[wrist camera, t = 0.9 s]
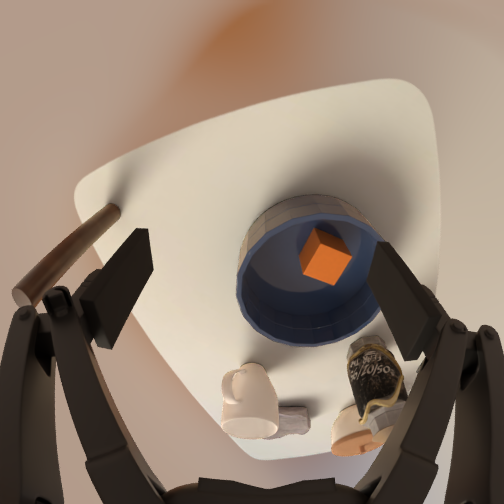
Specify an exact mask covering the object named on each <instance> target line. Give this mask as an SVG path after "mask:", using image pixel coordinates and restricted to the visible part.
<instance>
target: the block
mask: <svg viewBox="0 0 504 504" xmlns="http://www.w3.org/2000/svg"><path fill="white" fill-rule="evenodd" d="M351 258H352V255H351V253H350V251H349V250H348V248H347V246H346V244H345V242H344V241H343V240H342V239H340V238H337V237H335V236H333V235H331V234H328V233H326V232H324V231H321V230H319V229H317V228H314V229H313V230H312V232H311V234H310V236H309V238H308V240H307V242H306V243H305V245H304V247H303V249H302V251H301V253H300V254H299V259H300V263H301V268H302V272H303V274H304V275H307V276H309V277H312V278H315V279H318V280H320V281H323V282H326V283H329V284H331V285H335V283H336V282H337V280H338V279H339V277H340V276H341V274H342V272H343V271H344V269H345V268H346V266H347V264H348V263H349V261H350V260H351Z"/></svg>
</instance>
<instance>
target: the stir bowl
mask: <svg viewBox="0 0 504 504" xmlns="http://www.w3.org/2000/svg"><path fill="white" fill-rule="evenodd" d="M314 228H317V229H319V230H321V231H324V232H326V233H328V234H331V235H333V236H335V237H337V238H340V239H342V240H343V241H344V242H345V244H346V246H347V248H348V250H349V251H350V253H351V255H352V258H351V260H350V261H349V263H348V264H347V266H346V268H345V269H344V271H343V272H342V274H341V276H340V277H339V279H338V280H337V282H336V283H335V285H331V284H329V283H326V282H323V281H320V280H318V279H315V278H312V277H309V276H307V275H304V274H303V272H302V268H301V263H300V259H299V254H300V253H301V251H302V249H303V247H304V245H305V243H306V242H307V240H308V238H309V236H310V234H311V232H312V230H313V229H314ZM377 241H382V242H385V240H384V239H383V238H382V237H381V235H380V234H379V233H378V232H377V231H376V229H375V228H374V227H373V226H372V225H371V223H370V222H369V221H368V220H367V219H366V218H365V217H364V216H363V215H362V214H361V213H360V212H359V211H358V210H357V209H356V208H355V207H353V206H352V205H350V204H348V203H347V202H345V201H343V200H340V199H338V198H335V197H330V196H326V195H303V196H297V197H293V198H290V199H287V200H284V201H282V202H280V203H278V204H276V205H274V206H273V207H271V208H269V209H268V210H267V211H265V212H264V213H263V214H262V215H261V216H260V217H259V218H258V219H257V220H256V221H255V222H254V223H253V225H252V226H251V227H250V229H249V230H248V232H247V234H246V236H245V238H244V241H243V244H242V247H241V249H240V255H239V263H238V270H237V282H236V298H237V301H238V304H239V307H240V309H241V312H242V315H243V317H244V318H245V319H246V320H247V321H248V322H249V324H250V325H251V326H252V327H253V328H254V329H255V330H256V331H257V332H259V333H260V334H262V335H264V336H265V337H267V338H269V339H270V340H272V341H275V342H278V343H282V344H286V345H289V346H294V347H317V346H322V345H327V344H331V343H336V342H338V341H340V340H343V339H345V338H347V337H349V336H351V335H354V334H355V333H357V332H358V331H360V330H361V329H362V328H364V327H365V326H366V325H367V324H369V323H370V322H371V321H372V320H373V319H374V318H375V317H376V316H377V314H378V313H379V312H380V310H381V309H380V307H379V305H378V303H377V301H376V299H375V297H374V295H373V293H372V291H371V289H370V287H369V285H368V283H367V281H366V280H367V277H368V273H369V270H370V266H371V263H372V259H373V255H374V252H375V248H376V244H377Z"/></svg>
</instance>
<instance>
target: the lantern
mask: <svg viewBox="0 0 504 504" xmlns="http://www.w3.org/2000/svg"><path fill="white" fill-rule="evenodd" d="M347 360H348V364H347V372H348V377H349V381H350V384H351V388H352V391H353V395H354V398H355V402H356V405H357V409H358V413H359V415H360V417H361V418H362V419H361V418H360V419H359V424H360V425H361V424H362V425H363V426H364V427H367V428H368V429H371V432H372V435H373V438H372V441H373V442H382V443H385V442H386V440H387V438H388V436H389V435H390V433H391V431H392V429H393V427H394V425H395V423H396V421H397V419H398V417H399V415H400V413H401V411H402V409H403V407H404V405H405V403H406V400H407V398H408V395H407V392H406V389H405V386H404V383H403V380H404V376H403V375H402V370H401V368H400V366H399V364H398V363H397V361H396V360H395V358H394V355H393V354H392V352H390V351H389V350H387V349H386V344H385V342H384V341H383V340H382V339H381V338H380V337H379V336H372V337H363V338H360V339H359V340H357V341H356V342H354V343H353V344H351V345H350V347H349V351H348V354H347Z"/></svg>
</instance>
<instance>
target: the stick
mask: <svg viewBox="0 0 504 504" xmlns="http://www.w3.org/2000/svg"><path fill="white" fill-rule="evenodd" d="M120 215H121V213H120V209H119V208H118V206H117V205H115V204H112V203H110V204H108V205H106V206H105V207H104V208H102V209H101V210H100V211H98V212H97V213H96V214H95V215H93V216H92V217H91V218H90V219H88V220H87V221H86V222H85V223H83V224H82V225H81V226H80V227H78V228H77V229H76V230H75V231H74V232H73V233H71V234H70V235H69V236H68V237H67V238H65V239H64V240H63V241H62V242H61V243H60V244H59V245H58V246H57V247H55V248H54V249H53V250H52V251H51V252H50V253H49V254H47V255H46V256H45V257H44V258H43V259H42V260H41V261H40V262H39V263H38V264H37V265H36V266H35V267H34V268H33V269H32V270H31V271H30V272H29V273H28V274H27V275H26V276H25V277H24V278H23V279H22V280H21V281H20V282H19V283H18V284H17V285H16V286H15V287H14V288H13V289H12V296H13V298H14V301H15V302H16V304H17V305H18V306H19V307H20V308H21V307H22V306H26V305H32V306H34V307H36V306H37V304H38V303H39V302H40V301H41V300H42V297H43V295H44V293H45V292H46V291H48V290H49V289H51V288H52V287H53V286H54V285H55V284H56V282H57V281H58V280H59V279H60V278H61V277H62V276H63V275H64V274H65V273H66V271H67V270H68V269H69V268H70V267H71V266H72V265H73V264H74V263H75V262H76V261H77V259H79V258H80V257H81V256H82V254H84V253H85V252H86V250H87V249H88V248H89V247H90V246H91V245H92V244H93V243H94V242H96V241H97V240H98V239H99V238H100V237H101V236H102V235H103V234H104V233H105V232H106V231H107V230H108V229H109V228H110V227H111V226H112V225H113V224H114V223H115V222H116V221H117V220H119V218H120Z"/></svg>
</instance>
